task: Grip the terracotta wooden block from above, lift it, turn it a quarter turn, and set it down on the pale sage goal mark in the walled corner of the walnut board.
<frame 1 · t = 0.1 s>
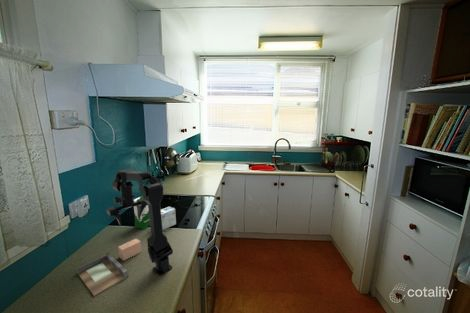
hand: (129, 221, 110), 14 cm above the counter, tool pointing down, fingers open, 9 cm apart
light bulb box: (166, 226, 134), on the counter
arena: (102, 275, 92), on the counter
terracotta block: (130, 254, 106), on the counter
milk carton: (143, 225, 135), on the counter
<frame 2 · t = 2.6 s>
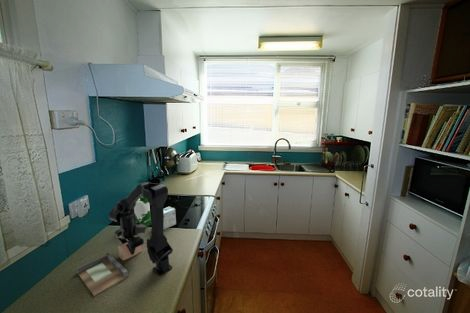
hand: (130, 252, 106), 1 cm above the counter, tool pointing down, fingers closed on terracotta block, 4 cm apart
terracotta block: (130, 254, 106), on the counter, touching gripper
everything else where it was.
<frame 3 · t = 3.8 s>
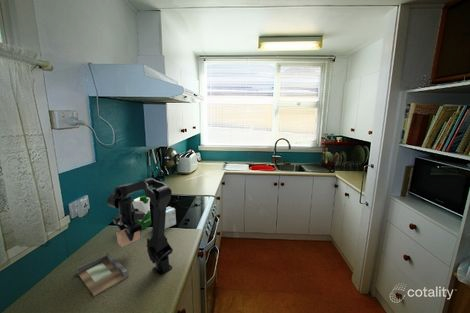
hand: (129, 239, 105), 8 cm above the counter, tool pointing down, fingers closed on terracotta block, 4 cm apart
terracotta block: (129, 241, 105), point 7 cm above the counter, touching gripper
everything else where it was.
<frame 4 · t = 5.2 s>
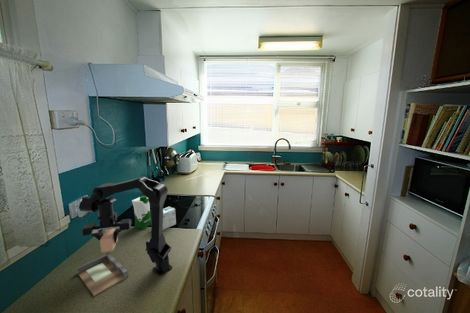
hand: (109, 243, 96), 11 cm above the counter, tool pointing down, fingers closed on terracotta block, 4 cm apart
terracotta block: (110, 245, 97), point 10 cm above the counter, touching gripper
everything else where it was.
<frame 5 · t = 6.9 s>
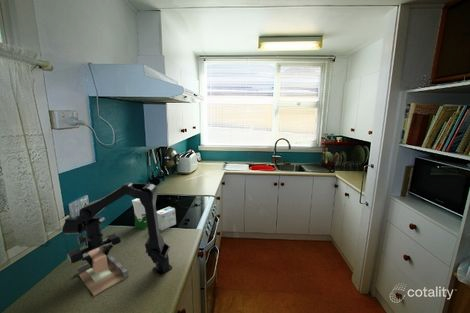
hand: (98, 264, 92), 4 cm above the counter, tool pointing down, fingers closed on terracotta block, 4 cm apart
terracotta block: (98, 266, 93), point 3 cm above the counter, touching gripper
everything else where it was.
when the fingers open (3 cm above the counter, at t = 7.9 s): terracotta block drops 1 cm, resting on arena.
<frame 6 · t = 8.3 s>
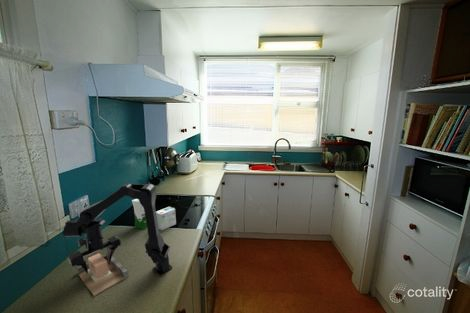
hand: (98, 267, 93), 3 cm above the counter, tool pointing down, fingers open, 8 cm apart
terracotta block: (99, 271, 93), point 1 cm above the counter, touching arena
everything else where it was.
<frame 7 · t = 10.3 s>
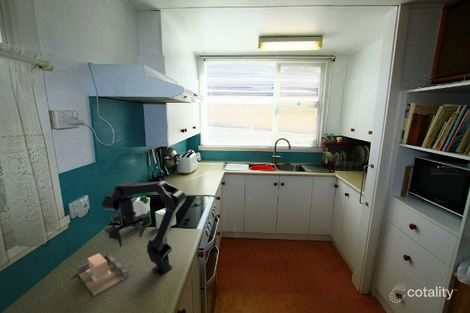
hand: (130, 242, 97), 11 cm above the counter, tool pointing down, fingers open, 9 cm apart
nothing on the counter moved.
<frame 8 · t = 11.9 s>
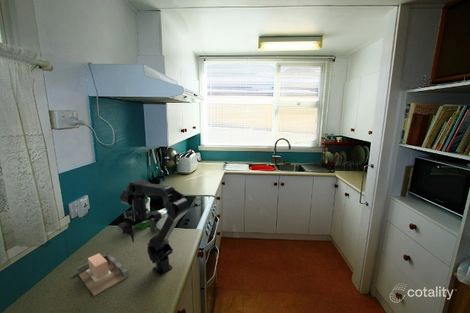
hand: (142, 237, 99), 12 cm above the counter, tool pointing down, fingers open, 9 cm apart
nothing on the counter moved.
at the end: terracotta block 0.0 cm from the target spot on the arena, point 0.7 cm above the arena's base; terracotta block tilted 0°; the gripper is holding nothing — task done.
